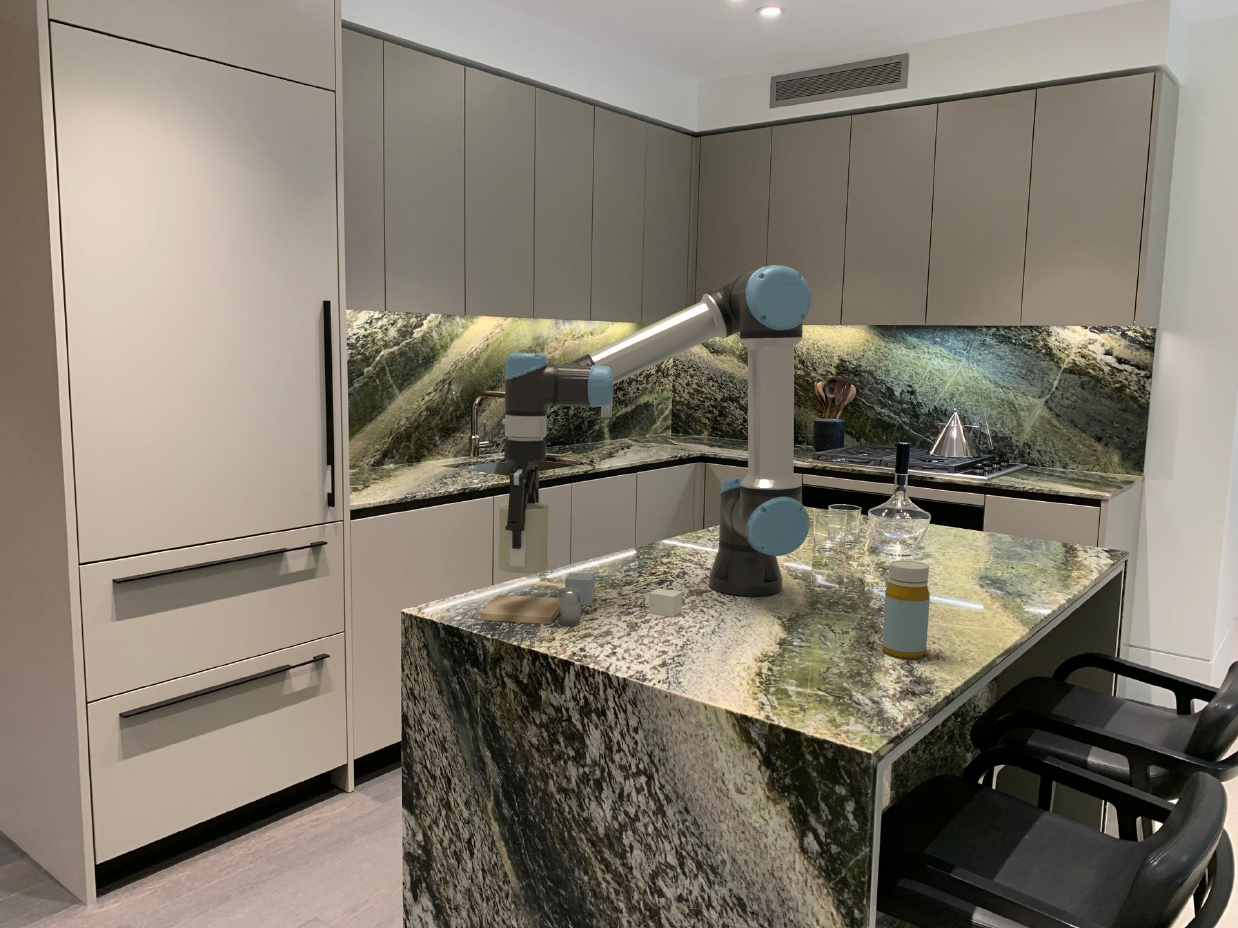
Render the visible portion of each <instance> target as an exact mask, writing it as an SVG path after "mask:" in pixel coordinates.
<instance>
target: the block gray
mask: <svg viewBox="0 0 1238 928" xmlns="http://www.w3.org/2000/svg"><path fill="white" fill-rule="evenodd" d="M595 578H596V574H595V573H582V572H581V573H576V572H569V573H568V575H567V576H566V577H565V579H564V588H566V587H573V588H578V589H580V590H581V606H592V604H593V602H594V600H595V586H596V579H595Z"/></svg>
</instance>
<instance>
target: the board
mask: <svg viewBox="0 0 1238 928" xmlns="http://www.w3.org/2000/svg"><path fill="white" fill-rule="evenodd" d="M479 616H480V618H479V620H480V621H494V622H495V621H496V622H512V623H526V624H527V623H528V624H529V623H531V624H545V625H552V623H553V622H554V621H555V619H556V617H558V597H548V596H547V597H545V596H527V595H526V596H525V595H524V596H523V595H510V594H507V595H506V594H498V595H496V596H495V597H494V598H493V600H491V602H490V603H488V605H487V606H486V607H485V608H483V610H482V611H481V612H480V614H479Z"/></svg>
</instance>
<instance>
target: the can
mask: <svg viewBox="0 0 1238 928" xmlns="http://www.w3.org/2000/svg"><path fill="white" fill-rule="evenodd" d="M508 505H509V502H506V503H505V502H504V503H500V504H499V505H498V510H499V512H498V513H499V517H498V518H499V519H498V520H499V523H498V525H499V528H498V529H499V530H498V531H499V541H498V546H499V547H498V565H497V569H499V570H501V571H503V572H507V573H511V574H534V573H535V574H536V573H541V572H544V571H546V570H548V568H549V565H548V564H549V563H548V545H549V544H548V541H549V540H548V535H549V534H548V533H549V531H548V530H549V528H548V527H549V509H550V506H549V505H548V504H545V503H542V502H541V503H540V502H539V503H527V509H526V510H525V526H524V527H525V529H524V530H526V554H525V567H522V566H510V530H506V529H505V526H507V521H508Z"/></svg>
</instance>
